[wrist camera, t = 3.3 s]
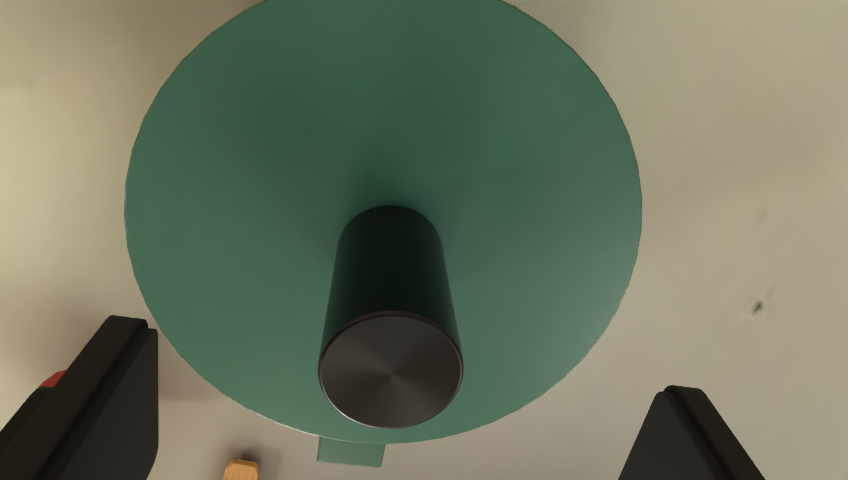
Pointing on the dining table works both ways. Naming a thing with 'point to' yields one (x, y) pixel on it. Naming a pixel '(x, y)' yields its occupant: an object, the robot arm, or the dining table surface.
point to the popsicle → (241, 470)
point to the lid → (383, 213)
